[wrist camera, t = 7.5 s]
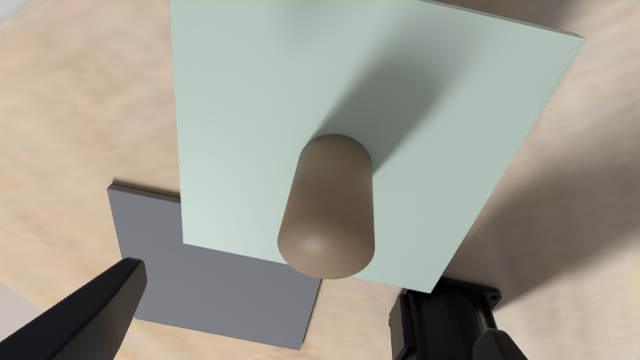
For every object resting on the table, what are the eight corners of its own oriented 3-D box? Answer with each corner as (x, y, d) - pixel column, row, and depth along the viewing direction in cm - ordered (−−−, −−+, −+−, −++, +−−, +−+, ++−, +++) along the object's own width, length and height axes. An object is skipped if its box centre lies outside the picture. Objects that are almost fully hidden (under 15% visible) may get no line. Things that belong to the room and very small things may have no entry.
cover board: (573, 32, 12) (697, 96, 7) (427, 280, 19) (446, 383, 15) (176, -59, 11) (62, -48, 7) (189, 232, 19) (138, 323, 15)
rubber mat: (334, 230, 24) (334, 235, 23) (300, 345, 33) (299, 350, 32) (111, 184, 23) (106, 188, 23) (137, 313, 32) (134, 318, 32)
